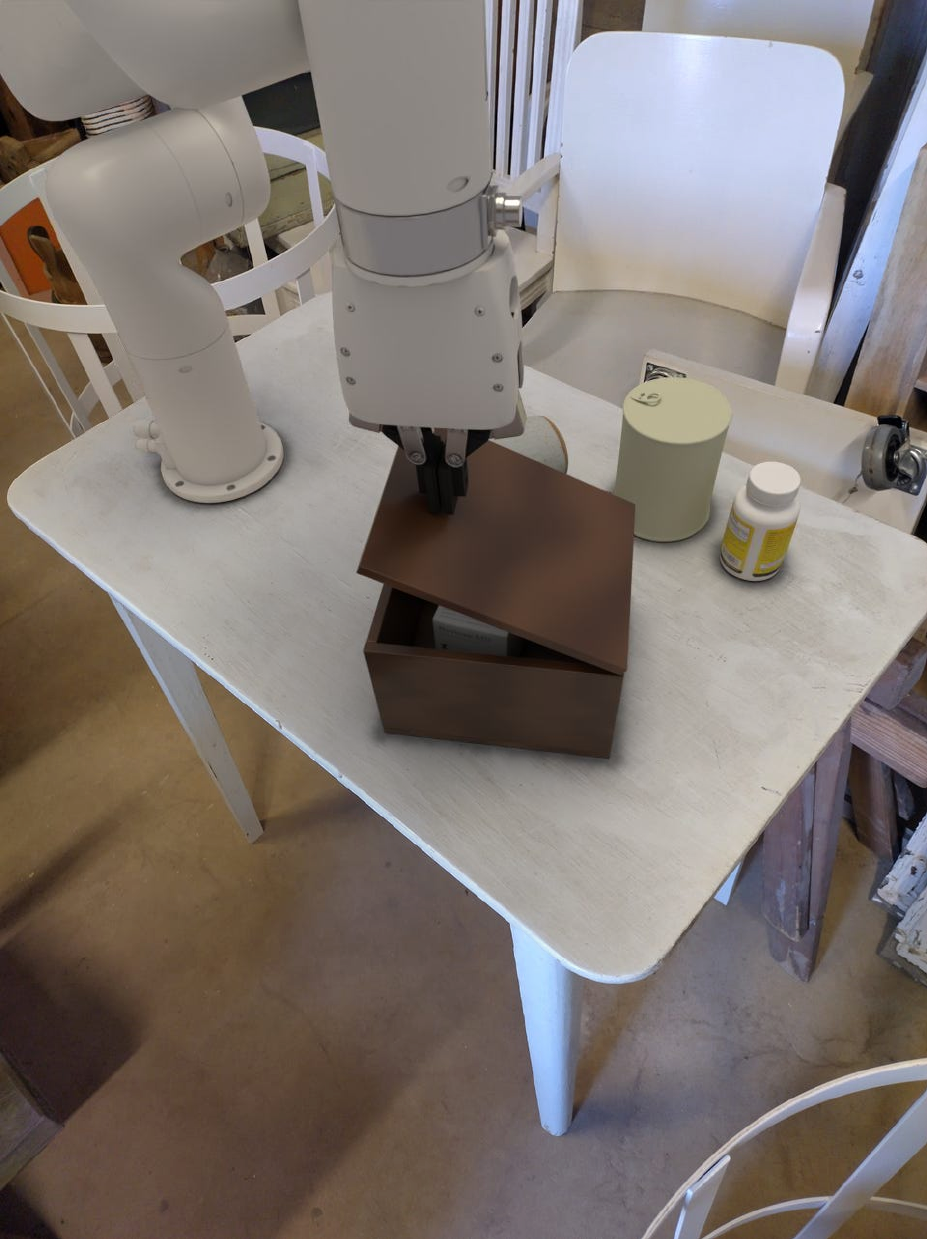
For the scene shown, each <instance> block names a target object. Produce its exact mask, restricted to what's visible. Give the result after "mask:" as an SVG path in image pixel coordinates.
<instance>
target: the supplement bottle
mask: <svg viewBox="0 0 927 1239" xmlns="http://www.w3.org/2000/svg"><path fill="white" fill-rule="evenodd" d="M801 482H802V480H801V476H800V474H799V472H798V471H797V470H796V469H795V468H793V466H791V465H789V464H787V463H784V462H780V461H764V462H760V463H758V464H755V465H754V466H753V467H752V468H751V469H750V472H749V474H748V477H747V480H746V483H744V484H743V485H742V486H740V487H739V489H738V490H737V491H736V492H735V495H734V497H733V500H732V504H731V508H730V511H729V515H728V519H727V523H726V527H725V530H724V534H723V538H722V542H721V546H720V550H719V559H720V562H721V565H722V566H723V568H724V569H725V570H726V571H727V572H728V573H729V574H731V575H732V576H734V577H736V578H738V579H742V580H745V581H749V582H750V581H752V582H759V581H764V580H768V579H770V578H772V577H774V576H775V575H776V574H777V573H778V572H779V571H780V570H781V568H782V565H783V563H784V560H785V556H786V554H787V552H788V548H789V546H790V543H791V540H792V537H793V534H794V532H795V529H796V525H797V522H798V519H799V516H800V512H801V500H800V499H799V498H800V497H799V496H798V493H799V489H800V486H801Z"/></svg>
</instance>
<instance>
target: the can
mask: <svg viewBox="0 0 927 1239" xmlns="http://www.w3.org/2000/svg"><path fill="white" fill-rule="evenodd" d="M732 420H733V408H732V405H731V403H730V401H729V400H728V398H727V397H726V396H725V394H723V392H722V391H720V390H719V389H717V388H716V387H714V386H712V385H710V384H708V383H706V382H704V381H700V380H698V379H692V378H688V377H680V376H679V377H678V376H677V377H676V376H667V377H659V378H654V379H651V380H646V381H645V382H642V383H640V384H638V385H637V386H635V387H634V388H633V389H631V391H629V392H628V393H627V395H626V396H625V398H624V400H623V403H622V419H621V430H620V440H619V450H618V459H617V466H616V474H615V485H614V490H613V493H612V494H613V495H615V496H618V497H620V498H622V499H625V500H627V501H629V502H631V503H634V504H635V505H636V507H635V526H634V537H638V538H640V539H643V540H646V541H651V542H657V543H658V542H659V543H660V542H661V543H671V542H678V541H681V540H685V539H688V538H690V537H692V536H694V535H696V534H698V532H700V531H701V530H702V529H703V528H704V526H706V524H707V523H708V520H709V517H710V512H711V508H710V506H711V501H712V500H711V499H712V496H713V492H714V487H715V483H716V480H717V476H718V472H719V466H720V463H721V459H722V455H723V451H724V447H725V443H726V439H727V435H728V432H729V429H730V425H731V423H732Z"/></svg>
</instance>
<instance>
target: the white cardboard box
mask: <svg viewBox="0 0 927 1239" xmlns="http://www.w3.org/2000/svg"><path fill="white" fill-rule="evenodd" d="M433 630H434V638H435V647H436V649H440V650H450V651H460V652H470V653H480V654H490V655H500V656H510V657H520V655H521V652H522V649H523V646H524V643H525V640H526V639H525V638H522V637H520V636H517V635H514V634H512V633H509V632H507V631H504V630H502V629H499V628H496V627H494V626H491V625H489V624H486V623H483V622H481V621H478V620H476V619H473V618H471V617H468V616H465V615H463V614H460V613H458V612H455V611H453V610H450V609H447V608H445V607H442V606H440V605H439V606H438V609H437V611H436V613H435V615H434V617H433Z"/></svg>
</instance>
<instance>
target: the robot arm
mask: <svg viewBox="0 0 927 1239" xmlns="http://www.w3.org/2000/svg"><path fill="white" fill-rule="evenodd" d="M486 12H487V10H486V0H0V76H1V78H2V80H3V81H4V82H5V84H6V86H7V87H8V89H9V91H10V93H11V94H12V95H13V96H14V98H15V99H16V100H17V101H18V103H19V104H20V105H21V106H22V108H24V109H25V110H26V111H27V112H28V113H29V114H31V115H32V116H33V117H35V118H38V119H40V120H43V121H48V122H64V121H68V120H73V119H77V118H81V117H82V118H83V117H85V116H88V115H93V114H95V113H97V112H101V111H104V110H108V109H110V108H114V107H116V106H119V105H122V104H125V103H128V102H131V101H134V100H137V99H139V98H142V97H145V96H148V95H149V96H151V98H154V99H155V100H157V101H159V102H161V103H162V104H165V105H168V106H169V108H170V109H169V110H167V111H164V112H161V113H158V114H156V115H153V116H150V117H148V118H145V119H142V120H139V121H138V120H135V121H133V122H130V123H128V124H124V125H121V126H119V127H116V128H113V129H111V130H108V131H105V132H101V133H100V134H97V135H94V136H92V137H88V138H86V139H84V140H82V141H80V142H78V143H75V145H73V146H71V147H69V148H67V149H66V150H65V151H63V152H62V153H61V154H60V155H58V157H57V158H56V159H54V161H53V162H52V164H51V165H50V167H49V169H48V171H47V173H46V177H45V195H46V200H47V203H48V206H49V209H50V211H51V213H52V216H53V218H54V220H55V221H56V224H57V226H58V227H59V229H60V231H61V232H62V234H63V236H64V237H65V238H66V240H67V242H68V243H69V245H70V247H71V248H72V250H73V251H74V253H75V255H76V256H77V258H78V260H79V261H80V263H81V264H82V266H83V267H84V269H85V271H86V272H87V274H88V276H89V277H90V279H91V281H92V283H93V285H94V286H95V288H96V290H97V292H98V294H99V296H100V298H101V301H102V302H103V304H104V306H105V308H106V310H107V312H108V315H109V318H110V319H111V321H112V323H113V326H114V329H115V330H116V332H117V335H118V337H119V340H120V342H121V344H122V346H123V348H124V351H125V353H126V355H127V357H128V360H129V362H130V365H131V367H132V369H133V371H134V374H135V377H136V378H137V381H138V383H139V386H140V388H141V390H142V392H143V395H144V397H145V399H146V402H147V404H148V406H149V408H150V411H151V413H152V415H153V418H154V420H151V419H150V420H149V419H148V420H147V419H136V420H135V421H134V423H133V434H134V436H135V437H136V438H137V439H136V441H135V449H136V450H137V452H139V453H140V452H141V453H157V454H158V455H159V456H160V457H161V459H162V460H161V464H160V471H161V475H162V478H163V480H164V482H165V484H166V486H167V487H168V488H169V490H170V491H171V492H172V493H173V494H175V495H176V496H178V497H180V498H182V499H184V500H185V501H190V502H195V503H201V504H203V503H204V504H216V503H223V502H229V501H234V500H237V499H241V498H243V497H246V496H248V495H250V494H252V493H254V492H255V491H257V490H259V489H261V488H262V487H264V486H265V485H266V484H267V483H269V482H270V480H272V479H273V478H274V476H275V475H276V474H277V473H278V472H279V470H280V468H281V466H282V464H283V461H284V455H285V454H284V446H283V443H282V439H281V438H280V436H279V434H278V433H277V431H276V430H274V428H273V427H271V426H269V425H268V424H266V423H264V422H261V421H260V419H259V415H258V412H257V409H256V405H255V402H254V399H253V397H252V392H251V390H250V386H249V383H248V380H247V377H246V374H245V371H244V367H243V364H242V360H241V357H240V354H239V351H238V348H237V344H236V342H235V339H234V335H233V332H232V329H231V325H230V322H229V319H228V316H227V312H226V310H225V307H224V303H223V301H222V298H221V297H220V295H219V293H218V291H217V290H216V289H215V288H214V287H213V285H212V284H211V283H210V282H209V281H208V280H207V279H205V278H204V277H202V276H201V275H200V274H199V273H197V272H196V271H194V270H192V269H190V268H189V267H187V266H186V265H183V264H181V262H180V260H181V258H182V257H183V256H184V255H185V254H187V253H188V252H191V251H193V250H195V249H197V248H198V247H200V246H202V245H204V244H206V243H208V242H211V241H213V240H215V239H217V238H220V237H222V236H225V235H227V234H228V233H231V232H234V231H236V230H238V229H240V228H241V227H244V226H245V225H248V224H250V223H252V222H254V221H255V220H257V219H258V218H259V217H261V215H262V214H263V213H264V212H265V211H266V209H267V207H268V205H269V203H270V200H271V189H272V188H271V178H270V172H269V168H268V164H267V161H266V157H265V155H264V152H263V148H262V146H261V143H260V140H259V137H258V135H257V132H256V129H255V127H254V125H253V122H252V119H251V117H250V114H249V112H248V109H247V106H246V104H245V101H244V98H243V96H244V95H246V94H249V93H251V92H255V91H257V90H260V89H263V88H265V87H268V86H271V85H274V84H276V83H279V82H282V81H284V80H288V79H290V78H293V77H295V76H298V75H301V74H307V73H310V75H311V81H312V86H313V91H314V97H315V102H316V108H317V114H318V115H317V116H318V120H319V125H320V132H321V136H322V143H323V147H324V153H325V159H326V163H327V164H326V165H327V169H328V174H329V180H330V186H331V190H332V195H333V202H334V206H335V212H336V217H337V223H338V229H339V237H338V238H337V240H336V242H335V247H334V249H333V252H332V261H331V262H332V263H331V298H332V299H331V301H332V302H331V303H332V320H333V335H334V345H335V355H336V362H337V369H338V376H339V377H338V378H339V382H340V388H341V392H342V393H341V394H342V396H343V400H344V403H345V406H346V408H347V410H348V422H349V424H350V425H351V426H352V427H354V428H357V429H361V430H365V431H369V432H373V433H377V434H381V433H382V434H383V435H384V436H385V437H386V438H388V440H390V441H391V442H392V443H394V444H395V445H397V447H398V446H399V447H400V448H402V449H403V450H404V451H405V452H406V455H407V458H408V460H409V461H410V462H411V463H412V464H414V465H416V471H417V479H418V486H419V492H420V494H427V501H428V509H429V513H434V514H437V513H438V512H441V509H442V512H445V514H448V515H454V511H455V507H456V503H457V499H458V496H462V497H466V494H467V490H468V466H467V457H468V456H469V455H471V454H472V453H473V452H474V451H476V450H477V449H478V448H479V447H481V446H482V445H483V444H485V443H486V442H487V441H488V440H489V439H493V438H494V439H495V440H496V439H503V438H510V437H517V436H521V435H522V434H523V433H524V430H525V425H526V420H527V417H528V416H527V412H526V409H525V405H524V403H523V399H522V396H521V393H520V389H522V388H523V384H524V379H525V378H524V377H525V350H524V333H523V316H522V307H521V297H520V289H519V282H518V281H519V280H518V275H517V269H516V263H515V258H514V253H513V248H512V244H511V242H510V238H509V236H508V234H507V232H505V230H506V228H508V227H510V228H511V227H513V228H521V227H522V222H523V207H524V206H523V204H524V202H523V196H522V195H508V193H507V192H500V189H499V188H500V187H499V185H497V184H495V171H492V162H491V160H492V159H491V133H490V132H491V131H490V130H491V129H490V128H491V127H490V103H489V101H490V98H489V74H488V71H489V70H488V46H487V45H488V44H487V42H488V41H487V14H486ZM434 428H448V430H447V438H446V441H445V445H444V441H441V436H436V435H435V434H434V432H435V431H434Z"/></svg>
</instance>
